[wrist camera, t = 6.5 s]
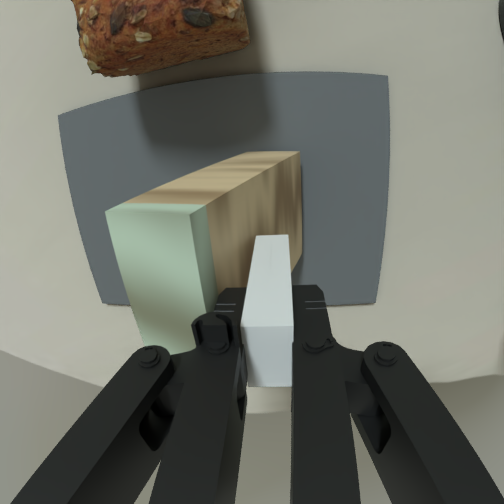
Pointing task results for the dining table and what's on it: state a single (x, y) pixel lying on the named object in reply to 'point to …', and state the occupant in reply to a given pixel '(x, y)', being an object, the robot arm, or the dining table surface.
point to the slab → (202, 239)
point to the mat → (238, 142)
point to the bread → (157, 33)
